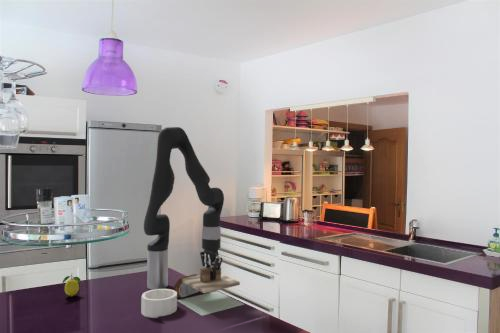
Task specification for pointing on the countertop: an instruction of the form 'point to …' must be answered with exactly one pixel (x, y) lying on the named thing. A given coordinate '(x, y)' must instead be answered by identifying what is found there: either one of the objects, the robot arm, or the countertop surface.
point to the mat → (210, 303)
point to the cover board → (210, 281)
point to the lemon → (71, 285)
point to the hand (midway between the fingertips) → (210, 278)
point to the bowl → (158, 302)
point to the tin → (184, 288)
